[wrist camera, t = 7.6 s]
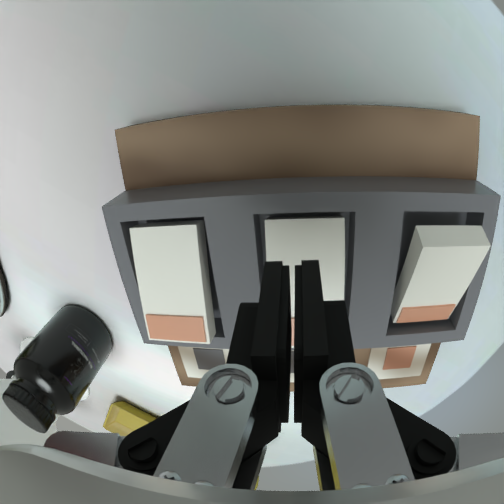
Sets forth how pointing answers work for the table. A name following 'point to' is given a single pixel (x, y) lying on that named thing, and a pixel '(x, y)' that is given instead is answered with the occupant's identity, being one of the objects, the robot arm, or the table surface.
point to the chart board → (303, 165)
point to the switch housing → (305, 205)
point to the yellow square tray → (125, 418)
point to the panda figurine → (10, 427)
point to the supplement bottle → (57, 367)
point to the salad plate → (3, 295)
